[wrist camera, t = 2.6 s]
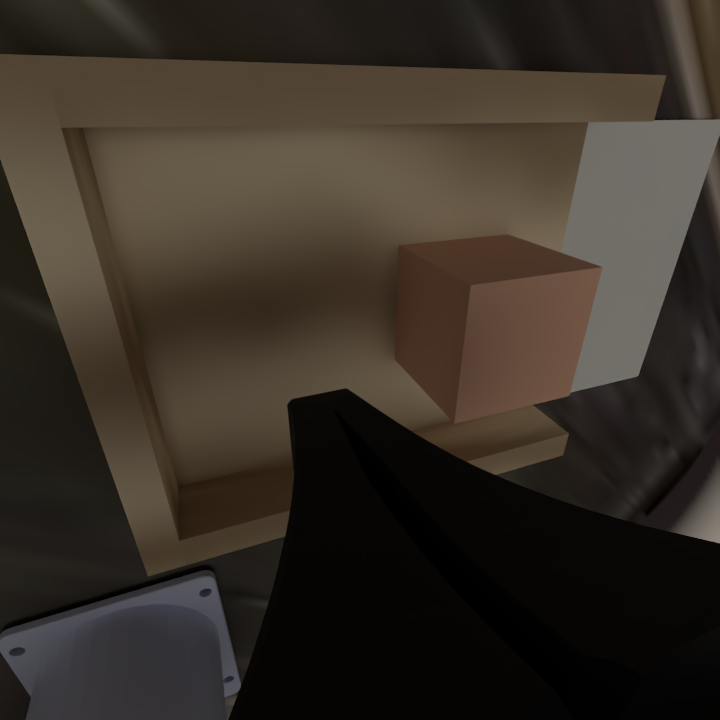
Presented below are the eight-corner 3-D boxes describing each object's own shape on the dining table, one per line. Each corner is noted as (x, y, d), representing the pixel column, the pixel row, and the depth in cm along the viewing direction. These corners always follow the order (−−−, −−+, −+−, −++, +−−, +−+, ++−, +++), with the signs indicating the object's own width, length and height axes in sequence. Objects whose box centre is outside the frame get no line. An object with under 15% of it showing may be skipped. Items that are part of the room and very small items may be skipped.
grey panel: (631, 372, 24) (638, 376, 24) (524, 398, 22) (529, 402, 22) (714, 119, 18) (724, 119, 18) (580, 120, 16) (588, 121, 16)
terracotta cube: (491, 341, 19) (569, 395, 15) (394, 359, 18) (454, 423, 14) (507, 234, 17) (602, 267, 13) (399, 245, 16) (470, 285, 12)
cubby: (520, 418, 23) (562, 455, 20) (151, 511, 17) (148, 576, 15) (588, 82, 16) (666, 75, 13) (11, 68, 10) (-38, 52, 8)
